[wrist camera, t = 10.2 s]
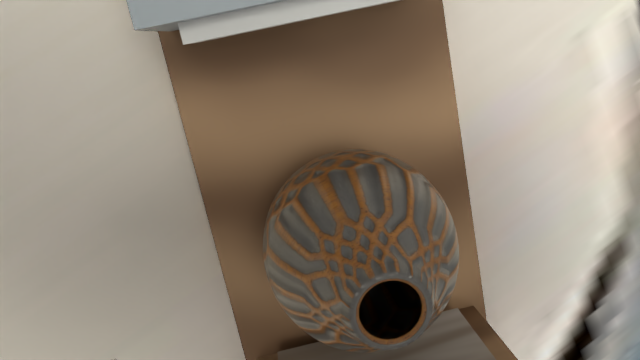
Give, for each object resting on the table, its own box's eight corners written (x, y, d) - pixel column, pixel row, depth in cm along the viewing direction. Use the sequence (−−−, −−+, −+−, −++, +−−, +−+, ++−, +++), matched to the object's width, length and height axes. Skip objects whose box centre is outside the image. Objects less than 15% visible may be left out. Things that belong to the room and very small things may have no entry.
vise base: (140, -58, 22) (75, -111, 14) (414, -112, 23) (504, -193, 15) (266, 418, 28) (272, 576, 20) (482, 364, 29) (575, 496, 20)
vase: (315, 319, 25) (346, 461, 17) (229, 191, 24) (216, 280, 15) (449, 238, 25) (550, 341, 17) (373, 103, 23) (442, 142, 15)
